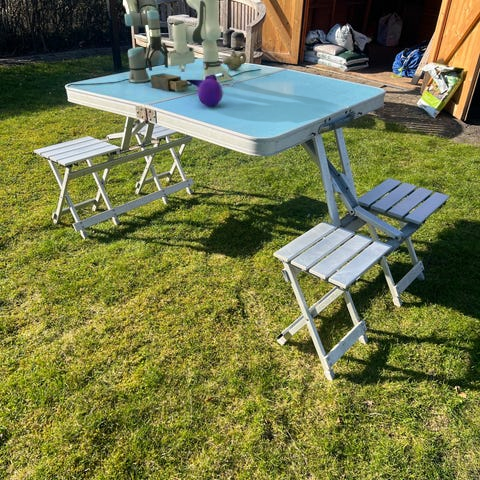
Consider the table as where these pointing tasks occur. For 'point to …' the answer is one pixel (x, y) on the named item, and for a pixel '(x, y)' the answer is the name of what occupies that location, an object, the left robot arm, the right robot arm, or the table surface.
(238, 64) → the teapot
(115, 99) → the table surface
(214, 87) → the toy
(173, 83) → the drawer
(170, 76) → the brown wooden slab
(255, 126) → the table surface
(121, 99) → the table surface
